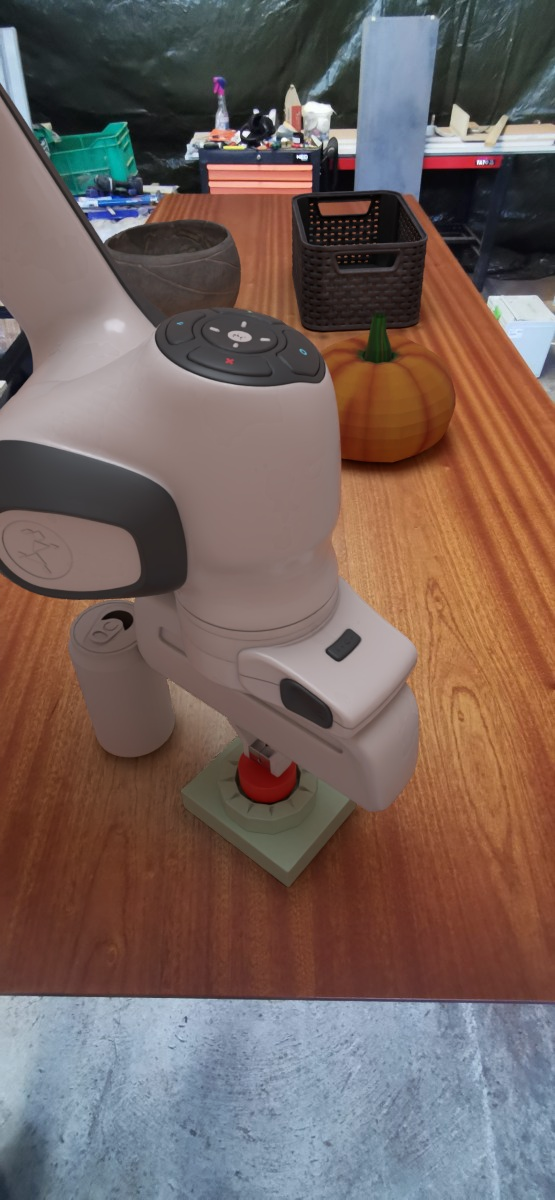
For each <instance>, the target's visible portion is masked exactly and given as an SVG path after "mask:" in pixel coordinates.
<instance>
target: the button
mask: <svg viewBox="0 0 555 1200" xmlns="http://www.w3.org/2000/svg"><path fill="white" fill-rule="evenodd" d="M238 770H239V779H240V785H241V788H242V790H243V791H244V793H245V794H246V795H247V796H248V797H250V798H251V799H253V800H255V801H258V802H262V803H272V802H277V801H279V800H282V799H283V798H285V797H286V796H288V795H289V794H290V793H291V791H292V790H293V788H294V786H295V784H296V763H294V762H293V761H292V762H291V764H290V766H289V767H288V768H287V769H286V770H285V771H284V772H283V773H282V774H281V775H280V776H279V777H276V776H275V775H273V774H272V773H271V772H269V771H268V770H266V769H265V768H264V767H262V766H261V765H259V764H257V763H256V762H254V761H253V760H251V759H250V758H249V757H247V756H245V755H244V752H243V753H242V755H241V756H240V759H239V763H238Z"/></svg>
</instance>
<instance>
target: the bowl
mask: <svg viewBox="0 0 555 1200" xmlns="http://www.w3.org/2000/svg"><path fill="white" fill-rule="evenodd" d="M103 243H104V245H105V246H106V248H107V249H108V251H109V252H110V254H111V255H112V257H113V258H114V260H115V261H116V263H117V264H118V266H119V267H120V269H121V270H122V271H123V273H124V274H125V275H126V276H127V278H128V279H129V280H130V281H131V283H132V284H133V285H134V286H135V287H136V288H137V289H138V290H139V291H140V292H141V293H142V294H143V295H144V296H145V297H146V298H147V299H148V300H149V301H150V302H151V303H152V304H153V305H154V306H155V307H157V308H158V309H159V310H160V311H161V312H162V313H163V314H164V315H166V316H167V317H168V318H170V317H171V316H174V315H176V314H179V313H182V312H186V311H190V310H197V309H210V308H213V307H226V308H235V306H236V304H237V301H238V297H239V293H240V288H241V283H242V266H241V258H240V254H239V251H238V248H237V245H236V242H235V240H234V238H233V235H232V233H231V231H230V230H229V229H228V228H227V227H226V226H225V225H224V224H222V223H219V222H216V221H212V220H207V219H196V218H187V219H185V218H184V219H175V220H166V221H157V222H156V221H155V222H148V223H144V224H143V223H142V224H139V225H135V226H132V227H128V228H126V229H124V230H120V231H119V232H118V233H114V234H113V235H111V236H109V237H108V238H107V239H106V240H105V241H104V242H103Z"/></svg>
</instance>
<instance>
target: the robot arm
mask: <svg viewBox="0 0 555 1200" xmlns="http://www.w3.org/2000/svg"><path fill="white" fill-rule="evenodd" d="M0 302H1V303H2V305H3V306H4V307H5V309H6V310H7V311H8V313H9V314H10V316H11V317H13V319H14V320H15V321H16V323H17V324H18V325H19V327H20V328H21V330H22V331H23V333H24V334H25V337H26V338H27V341H28V344H29V347H30V351H31V358H32V373H31V375H29V377H28V378H27V380H26V381H25V382H24V383H23V385H22V386H21V387H20V388H19V389H18V390H17V392H16V393H15V394H14V395H13V396H11V397H10V399H8V400H7V401H6V402H5V404H4V405H3V406H2V407H1V408H0V574H1V576H3V577H5V578H6V579H7V580H8V581H10V582H12V583H13V584H15V585H16V586H17V587H19V588H21V589H23V590H26V591H28V592H30V593H33V594H35V595H39V596H42V597H46V598H51V599H59V600H68V601H69V600H70V601H98V600H99V601H101V600H102V601H104V600H124V599H134V601H133V602H134V621H135V631H136V639H137V645H138V649H139V652H140V654H141V655H142V657H143V658H144V660H145V661H146V663H147V664H148V665H149V666H150V667H151V668H152V669H154V670H155V671H157V672H158V673H160V674H161V675H163V676H164V677H166V678H167V680H169V681H170V682H172V683H173V684H174V685H177V686H178V687H179V688H181V689H182V690H184V691H185V692H187V693H189V694H190V695H192V696H193V697H194V698H196V699H198V700H199V701H200V702H202V703H203V704H205V705H207V706H208V707H210V708H211V709H213V710H214V711H215V712H217V713H219V714H220V715H222V716H223V717H225V718H226V720H227V721H228V723H229V725H230V726H231V728H232V729H233V731H234V732H235V734H236V735H237V736H238V737H239V738H240V740H241V741H242V742H243V748H244V755H245V756H247V757H249V758H250V759H251V760H253V761H254V762H256V763H257V764H259V765H261V766H262V767H264V768H265V769H266V770H268V771H269V772H271V773H272V774H273V775H275V776H276V777H279V776H280V775H281V774H282V773H283V772H284V771H285V770H286V769H287V768H288V767H289V766H290V764H291V762H292V761H293V762H294V763H296V764H298V765H299V766H301V767H302V768H304V769H305V770H307V771H308V772H310V773H311V774H313V775H314V776H316V777H317V778H319V779H320V780H322V781H323V782H325V783H326V784H328V785H329V786H331V787H332V788H334V789H335V790H337V791H338V792H340V793H341V794H343V795H344V796H346V797H347V798H349V799H350V800H352V801H353V802H355V803H356V805H358V806H359V807H361V808H362V809H363V810H365V811H366V812H367V811H368V812H369V813H378V812H383V811H385V810H387V809H388V808H390V806H391V805H392V804H393V803H394V802H395V801H397V799H398V797H399V796H400V795H401V794H402V792H403V791H404V790H405V788H406V787H407V786H408V784H409V783H410V782H411V779H412V778H413V776H414V774H415V771H416V768H417V763H418V756H419V746H420V745H419V744H420V712H419V706H418V702H417V699H416V696H415V694H414V692H413V690H412V688H411V686H410V685H409V684H408V683H407V681H408V679H409V677H411V674H412V673H413V672H414V670H415V668H416V666H417V663H418V658H419V655H418V654H419V653H418V649H417V648H416V645H415V644H414V643H413V641H412V640H411V639H409V637H407V636H406V635H405V634H404V633H403V632H402V631H400V630H399V629H398V628H397V627H395V626H394V625H393V624H391V623H390V622H389V621H388V620H387V619H385V618H384V617H383V616H382V615H381V614H380V613H378V612H377V611H376V610H375V609H374V608H373V607H372V606H371V605H369V604H368V603H367V602H366V601H365V600H364V599H363V598H362V597H361V596H360V595H359V594H358V592H357V591H356V590H355V589H354V588H353V587H352V586H351V585H350V583H349V582H347V580H346V579H345V578H344V577H342V576H341V575H340V574H339V571H340V569H339V561H338V555H337V553H336V551H335V548H334V545H333V535H334V532H335V529H336V527H337V524H338V521H339V518H340V515H341V507H342V458H341V443H340V427H339V416H338V407H337V400H336V394H335V390H334V385H333V382H332V379H331V375H330V372H329V369H328V367H327V365H326V362H325V360H324V358H323V357H322V355H321V353H320V352H321V351H320V350H319V349H318V348H317V346H316V345H315V344H314V343H313V342H312V341H311V340H310V339H309V338H308V337H307V336H306V335H305V334H303V333H302V332H300V331H299V330H297V329H296V328H294V327H292V326H290V325H289V324H286V323H285V322H284V321H282V320H280V319H278V318H276V317H273V316H270V315H268V314H264V313H261V312H258V311H253V310H250V309H243V308H236V307H234V308H226V307H213V308H210V309H197V310H190V311H186V312H182V313H179V314H176V315H174V316H171V317H170V318H168V317H167V316H166V315H164V314H163V313H162V312H161V311H160V310H159V309H158V308H157V307H155V306H154V305H153V304H152V303H151V302H150V301H149V300H148V299H147V298H146V297H145V296H144V295H143V294H142V293H141V292H140V291H139V290H138V289H137V288H136V287H135V286H134V285H133V284H132V283H131V281H130V280H129V279H128V278H127V276H126V275H125V274H124V273H123V271H122V270H121V269H120V267H119V266H118V264H117V263H116V261H115V260H114V258H113V257H112V255H111V254H110V252H109V251H108V249H107V248H106V246H105V245H104V242H103V239H102V238H101V237H100V235H99V234H98V232H97V231H96V229H95V227H94V225H93V224H92V222H91V221H90V219H89V218H88V216H87V215H86V214H85V212H84V210H83V208H82V207H81V205H80V203H79V202H78V201H77V199H76V198H75V196H74V195H73V193H72V191H71V190H70V188H69V186H68V185H67V183H66V182H65V181H64V179H63V177H62V176H61V174H60V173H59V171H58V169H57V168H56V166H55V165H54V163H53V161H52V160H51V158H50V157H49V156H48V153H46V151H45V149H44V148H43V146H42V144H41V143H40V141H39V140H38V137H36V135H35V134H34V131H33V130H32V129H31V126H29V124H28V122H27V121H26V120H25V118H24V116H23V114H22V113H21V112H20V110H19V109H18V108H17V105H16V103H15V102H14V101H13V99H12V97H10V95H9V93H8V92H7V90H6V88H5V87H4V86H3V84H2V82H0Z"/></svg>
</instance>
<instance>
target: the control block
mask: <svg viewBox="0 0 555 1200" xmlns="http://www.w3.org/2000/svg"><path fill="white" fill-rule="evenodd" d="M243 752H244V748H243V742H242V741H241V740H240V738H239V737H238V735H237V736H236V737H235V738H234V739H233V740H232V741H231V742H229V744H227V746H226V747H224V749H222V750H221V751H220V752H219V753H218V754H217V755H216V756H215V757H214V758H213V759H212V760H211V761H210V762H209V763H208V764H207V765H206V766H205V767H203V768H202V769H201V771H199V772H198V773H197V774H196V775H195V776H194V777H193V778H192V779H191V780H190V781H189V782H188V783H187V784H186V785H185V786H184V787H182V789H181V790H180V794H181V799H182V804H183V807H184V808H185V809H186V810H187V811H188V812H190V813H191V814H192V815H194V816H195V817H196V818H197V819H199V820H200V821H202V822H203V823H204V824H205V825H206V826H208V827H209V828H210V829H212V830H213V831H214V832H216V833H217V834H218V835H219V836H221V837H222V838H224V839H225V840H226V841H227V842H228V843H230V844H231V845H233V846H234V847H235V848H236V849H237V850H239V851H240V852H241V853H243V854H244V855H245V856H246V857H248V858H249V859H250V860H252V861H253V862H255V863H256V864H257V865H259V866H260V867H261V868H262V869H263V870H265V871H266V872H267V873H269V874H270V875H271V876H273V878H275V879H277V880H278V881H279V882H280V883H282V884H283V885H284V886H286V887H287V888H290V887H291V886H292V885H293V883H294V882H295V880H297V878H298V877H300V875H301V874H302V873H303V871H304V870H305V869H306V868H307V866H308V865H310V863H311V862H312V861H313V860H314V858H315V857H316V856H317V855H318V853H319V852H320V851H321V850H322V849H323V847H324V846H325V845H326V844H327V843H328V842H329V840H330V839H331V838H332V837H333V836H334V834H335V833H336V832H337V831H338V829H339V828H340V827H341V826H342V825H343V823H344V822H345V821H346V820H347V818H348V817H349V816H350V815H351V814H352V812H353V811H355V809H356V808H357V804H356V803H355V802H353V801H352V800H350V799H349V798H347V797H346V796H344V795H343V794H341V793H340V792H338V791H337V790H335V789H334V788H332V787H331V786H329V785H328V784H326V783H325V782H323V781H322V780H320V779H319V778H317V777H316V776H314V775H313V774H311V773H310V772H308V771H307V770H305V769H304V768H302V767H301V766H299V765H298V764H296V784H295V786H294V788H293V790H292V791H291V793H290V794H289V795H288V796H286V797H285V798H283V799H282V800H279V801H277V802H272V803H262V802H258V801H255V800H253V799H251V798H250V797H248V796H247V795H246V794H245V793H244V791H243V790H242V788H241V785H240V779H239V770H238V763H239V759H240V756H241V755H242V753H243Z"/></svg>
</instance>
